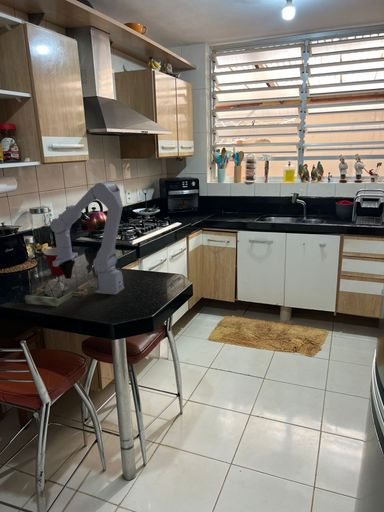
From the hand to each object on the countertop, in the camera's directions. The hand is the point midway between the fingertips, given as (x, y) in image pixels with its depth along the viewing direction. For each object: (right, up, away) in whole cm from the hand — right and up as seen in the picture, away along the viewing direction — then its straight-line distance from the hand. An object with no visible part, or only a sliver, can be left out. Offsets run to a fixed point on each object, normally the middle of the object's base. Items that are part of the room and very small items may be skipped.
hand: (68, 278), depth 158 cm
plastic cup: (-11, 0, +21) cm, 24 cm away
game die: (-2, -8, -9) cm, 12 cm away
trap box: (-2, -6, -5) cm, 8 cm away
